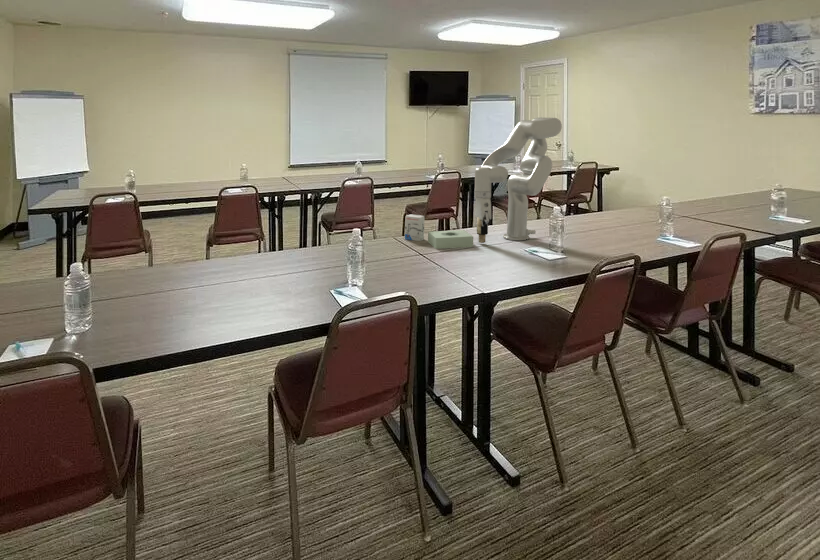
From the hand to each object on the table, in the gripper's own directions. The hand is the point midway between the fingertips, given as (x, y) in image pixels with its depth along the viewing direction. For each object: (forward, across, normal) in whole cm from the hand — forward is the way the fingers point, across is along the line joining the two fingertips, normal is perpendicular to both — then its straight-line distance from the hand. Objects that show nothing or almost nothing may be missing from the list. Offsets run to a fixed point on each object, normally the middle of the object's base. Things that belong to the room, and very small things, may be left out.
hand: (482, 232), depth 257 cm
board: (+5, +3, +15) cm, 16 cm away
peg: (+4, 0, 0) cm, 4 cm away
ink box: (+5, +17, +29) cm, 34 cm away
